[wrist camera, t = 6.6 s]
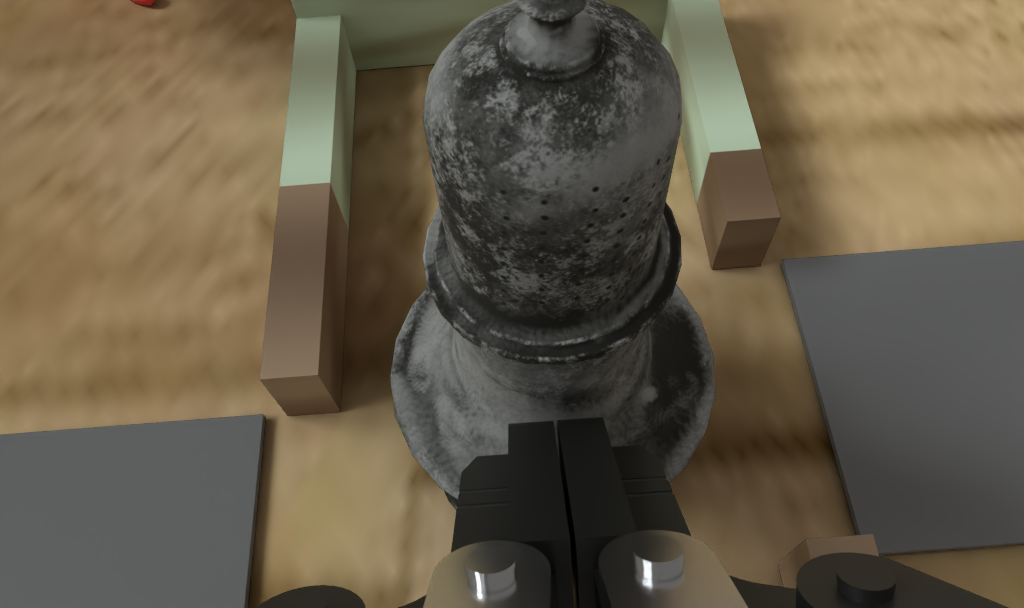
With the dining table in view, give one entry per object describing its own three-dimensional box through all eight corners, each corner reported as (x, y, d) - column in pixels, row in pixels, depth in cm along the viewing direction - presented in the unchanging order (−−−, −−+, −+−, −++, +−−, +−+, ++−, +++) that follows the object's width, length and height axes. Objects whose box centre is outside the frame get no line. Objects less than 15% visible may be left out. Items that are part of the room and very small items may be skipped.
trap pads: (1239, 700, 14) (1248, 699, 14) (-96, 801, 14) (-103, 801, 14) (1025, 245, 19) (1030, 240, 19) (34, 322, 19) (29, 318, 19)
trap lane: (937, 935, 13) (1035, 979, 10) (241, 987, 13) (163, 1045, 10) (694, 14, 24) (711, -76, 21) (317, 44, 24) (289, -43, 21)
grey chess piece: (371, 402, 18) (126, -83, 8) (580, 276, 19) (615, -278, 9) (513, 633, 15) (438, 376, 5) (743, 468, 17) (1053, 4, 6)
